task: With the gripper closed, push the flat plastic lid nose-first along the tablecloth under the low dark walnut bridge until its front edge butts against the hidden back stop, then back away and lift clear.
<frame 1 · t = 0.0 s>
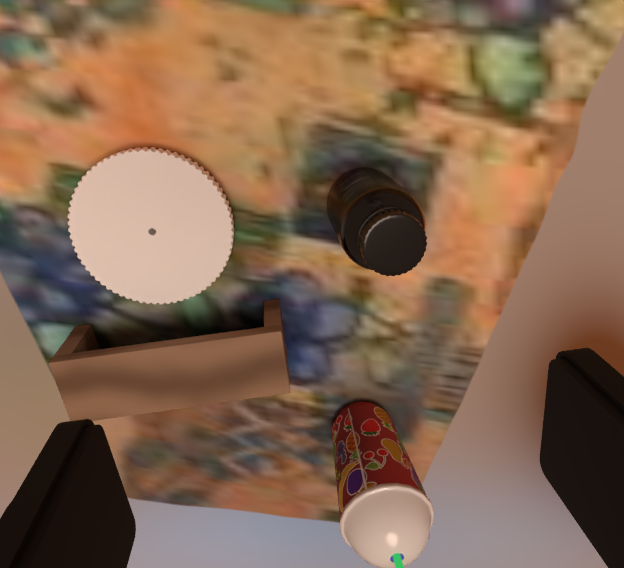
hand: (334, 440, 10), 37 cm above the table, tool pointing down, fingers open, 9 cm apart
plastic lid: (158, 223, 46), on the table
smoothie: (359, 420, 57), on the table
walnut bridge: (183, 334, 50), on the table
supplement bottle: (362, 203, 47), on the table
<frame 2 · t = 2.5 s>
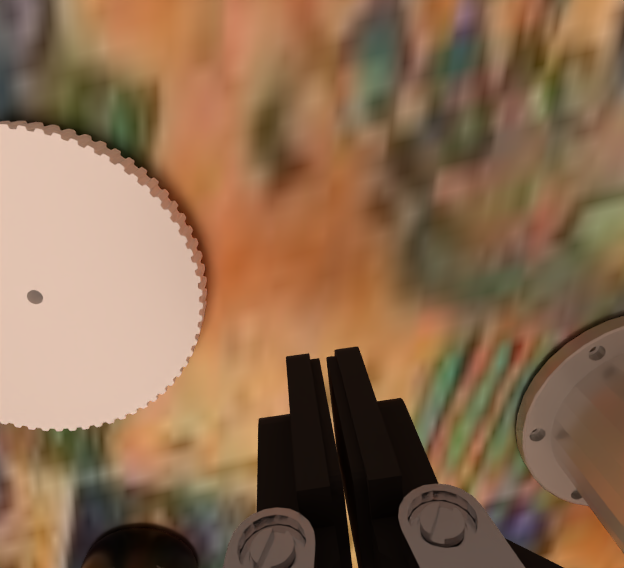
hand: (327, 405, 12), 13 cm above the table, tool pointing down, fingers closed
plastic lid: (60, 273, 24), on the table
supplement bottle: (143, 560, 31), on the table
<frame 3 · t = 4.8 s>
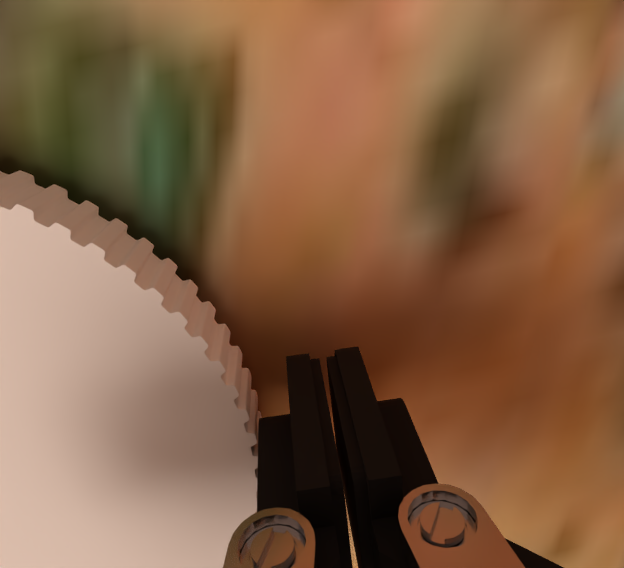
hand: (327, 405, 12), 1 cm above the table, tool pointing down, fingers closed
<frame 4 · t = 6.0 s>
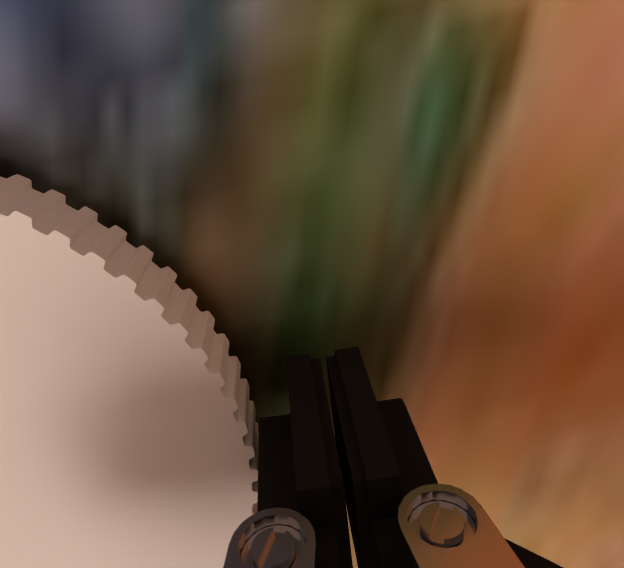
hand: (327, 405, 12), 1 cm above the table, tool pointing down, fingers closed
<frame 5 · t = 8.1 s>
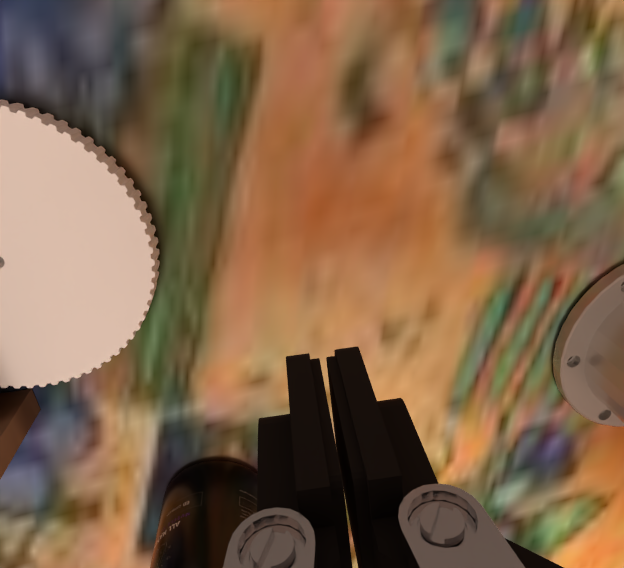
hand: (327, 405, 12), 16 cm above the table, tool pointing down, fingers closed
plastic lid: (20, 242, 25), on the table
supplement bottle: (216, 493, 33), on the table
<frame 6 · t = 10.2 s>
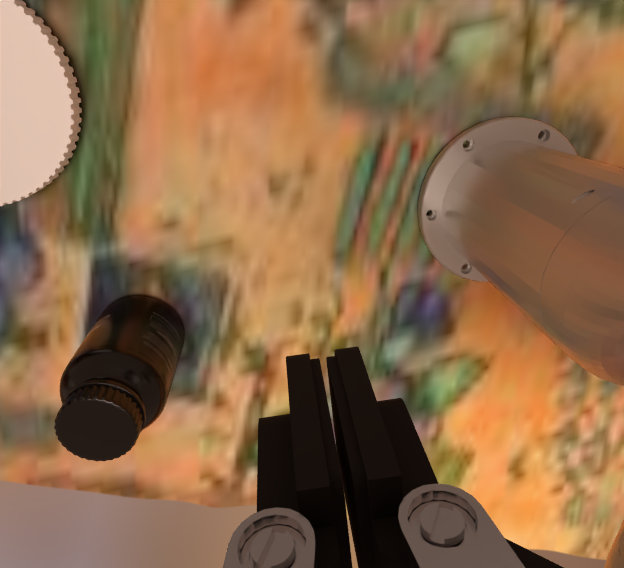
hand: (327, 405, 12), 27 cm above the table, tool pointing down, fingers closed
supplement bottle: (143, 330, 40), on the table
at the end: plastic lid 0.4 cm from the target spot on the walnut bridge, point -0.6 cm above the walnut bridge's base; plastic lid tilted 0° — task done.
